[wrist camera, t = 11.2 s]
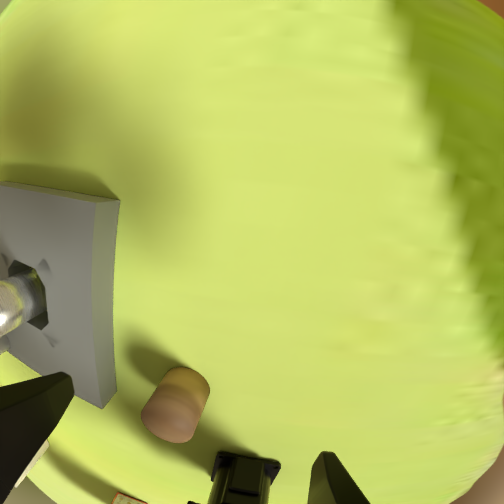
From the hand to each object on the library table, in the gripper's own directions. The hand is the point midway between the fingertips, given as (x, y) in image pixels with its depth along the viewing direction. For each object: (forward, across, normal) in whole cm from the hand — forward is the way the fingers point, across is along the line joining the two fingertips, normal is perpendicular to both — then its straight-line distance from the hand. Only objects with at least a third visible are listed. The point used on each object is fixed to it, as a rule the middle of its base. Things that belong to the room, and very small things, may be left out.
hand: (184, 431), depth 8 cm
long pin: (+12, +18, +4) cm, 22 cm away
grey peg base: (+12, +18, +4) cm, 22 cm away
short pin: (+12, +3, +9) cm, 15 cm away
